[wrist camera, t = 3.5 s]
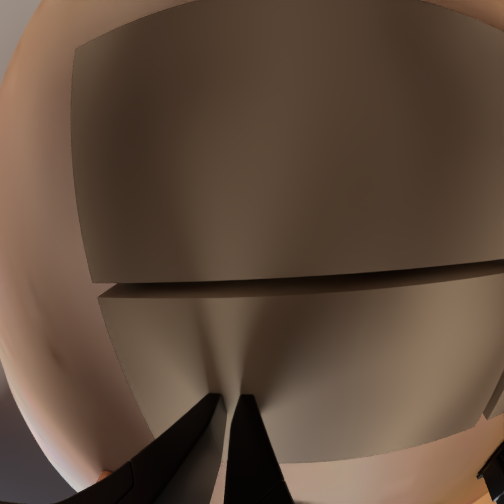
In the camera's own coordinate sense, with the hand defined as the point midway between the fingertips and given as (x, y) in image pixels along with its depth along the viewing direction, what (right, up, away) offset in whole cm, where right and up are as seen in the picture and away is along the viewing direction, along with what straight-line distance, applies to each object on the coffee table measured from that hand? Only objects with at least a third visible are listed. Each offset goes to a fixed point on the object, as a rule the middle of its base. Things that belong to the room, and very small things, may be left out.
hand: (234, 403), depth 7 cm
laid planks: (+6, +4, 0) cm, 7 cm away
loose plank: (+3, +1, +1) cm, 4 cm away
